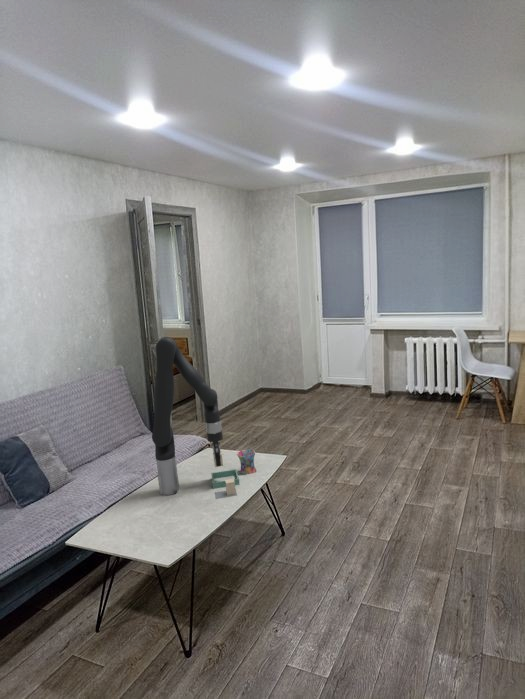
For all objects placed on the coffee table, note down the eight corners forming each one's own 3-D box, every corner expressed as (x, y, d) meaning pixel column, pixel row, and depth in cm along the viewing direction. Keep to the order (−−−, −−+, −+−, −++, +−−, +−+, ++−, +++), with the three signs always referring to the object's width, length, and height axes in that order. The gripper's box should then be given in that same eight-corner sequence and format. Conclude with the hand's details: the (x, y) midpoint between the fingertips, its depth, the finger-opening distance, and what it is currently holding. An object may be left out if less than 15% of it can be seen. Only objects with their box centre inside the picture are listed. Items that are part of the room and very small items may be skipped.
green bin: (213, 490, 241) (212, 483, 240) (212, 480, 253) (211, 473, 252) (239, 486, 242) (238, 478, 242) (237, 476, 255) (236, 469, 254)
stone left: (214, 467, 244) (213, 455, 243) (214, 464, 248) (212, 452, 247) (223, 465, 244) (221, 454, 243) (222, 462, 248) (221, 451, 247)
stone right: (227, 495, 231) (225, 483, 230) (226, 492, 235) (225, 479, 234) (235, 494, 232) (234, 481, 231) (235, 490, 236) (233, 478, 235)
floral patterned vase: (253, 476, 252) (251, 456, 250) (236, 475, 255) (234, 455, 254) (261, 467, 263) (259, 448, 261) (245, 466, 266) (243, 447, 265)
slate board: (215, 501, 229) (215, 499, 229) (214, 494, 236) (214, 492, 236) (237, 497, 231) (237, 495, 231) (236, 491, 238) (235, 489, 237)
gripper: (205, 427, 250) (210, 460, 252) (207, 436, 236) (211, 470, 238) (220, 425, 251) (225, 457, 253) (223, 433, 237) (227, 468, 239)
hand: (218, 463), depth 246 cm, fingers closed on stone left, 4 cm apart
